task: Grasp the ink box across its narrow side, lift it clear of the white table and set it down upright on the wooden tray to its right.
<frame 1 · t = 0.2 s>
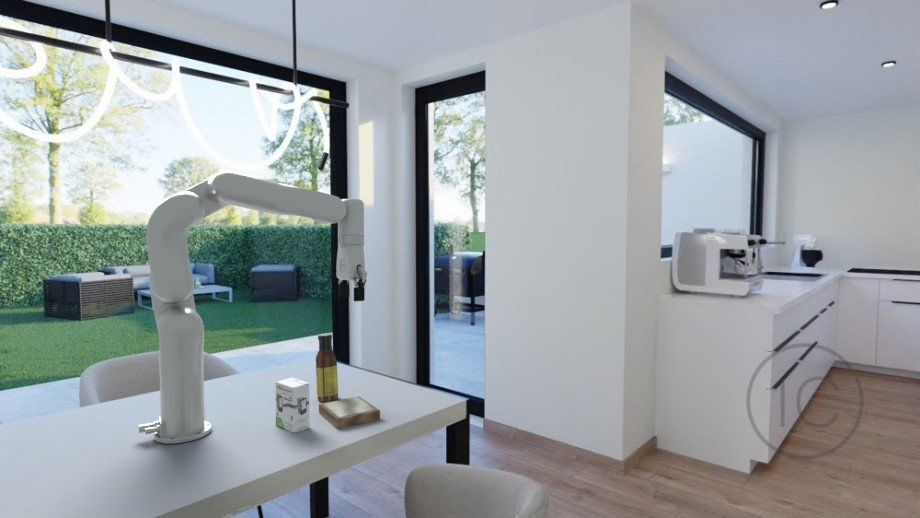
hand: (351, 299, 149), 31 cm above the table, fingers open, 9 cm apart
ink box: (292, 427, 131), on the table
sauce bottle: (327, 399, 153), on the table
wooden tray: (348, 416, 139), on the table
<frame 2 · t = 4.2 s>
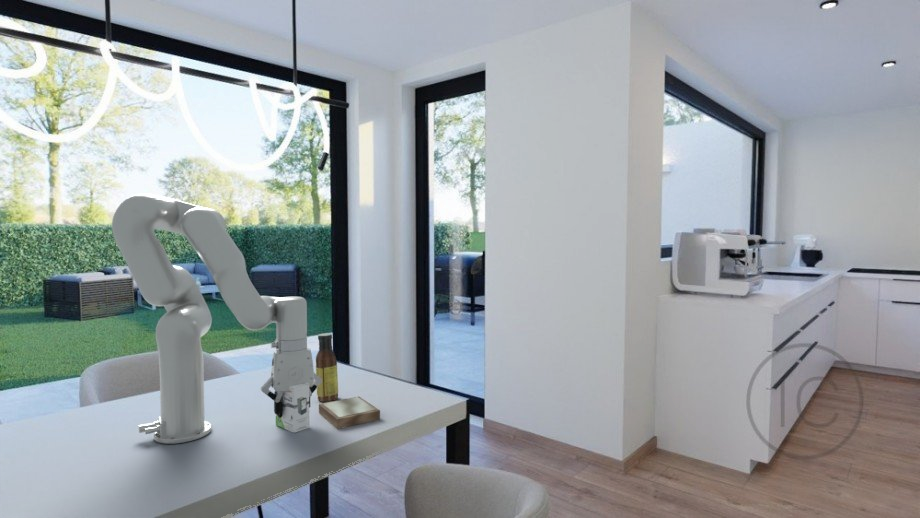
hand: (292, 412, 131), 4 cm above the table, fingers closed on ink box, 6 cm apart
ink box: (292, 427, 131), on the table, touching gripper
everything else where it was.
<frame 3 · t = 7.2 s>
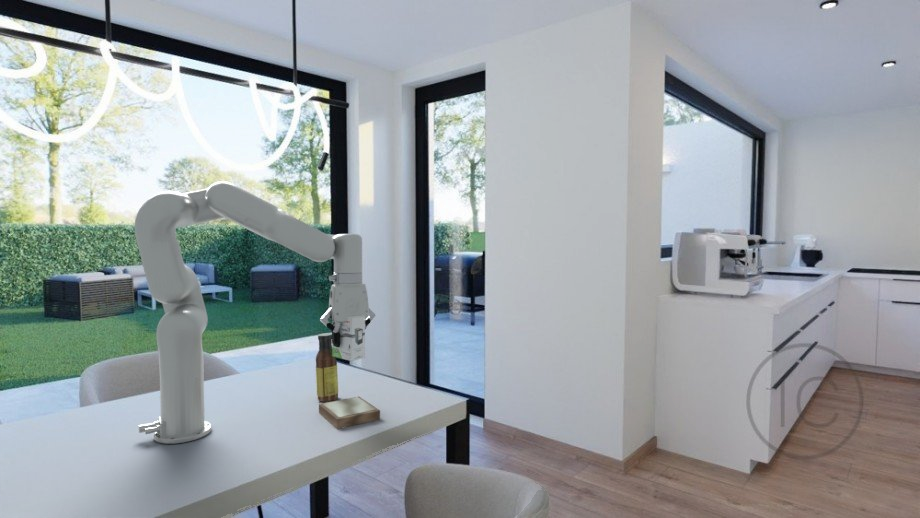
hand: (348, 344, 138), 20 cm above the table, fingers closed on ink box, 6 cm apart
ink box: (348, 358, 138), point 16 cm above the table, touching gripper
everything else where it was.
when the fingers open (7 cm above the table, at t = 10.2 s): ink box drops 1 cm, resting on wooden tray.
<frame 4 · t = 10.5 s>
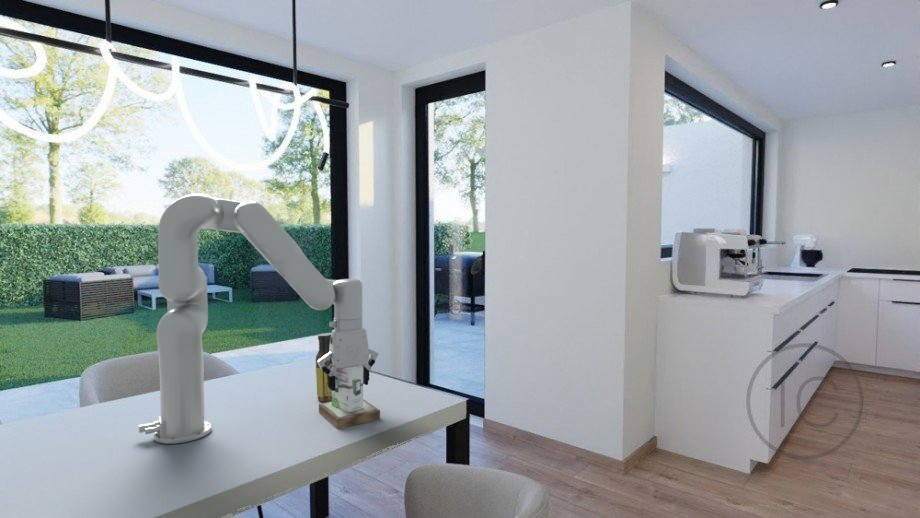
hand: (348, 386, 138), 8 cm above the table, fingers open, 9 cm apart
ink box: (347, 407, 138), point 2 cm above the table, touching wooden tray
everything else where it was.
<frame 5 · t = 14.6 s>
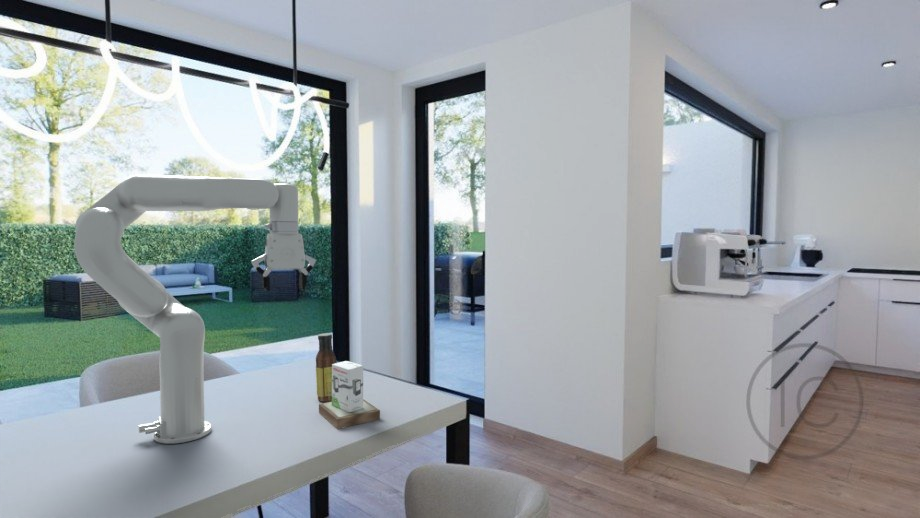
hand: (284, 289, 141), 34 cm above the table, fingers open, 9 cm apart
nothing on the table moved.
at the end: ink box inside the target area on the wooden tray (0.4 cm from its centre), point 2.4 cm above the wooden tray's base; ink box tilted 0°; the gripper is holding nothing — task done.
